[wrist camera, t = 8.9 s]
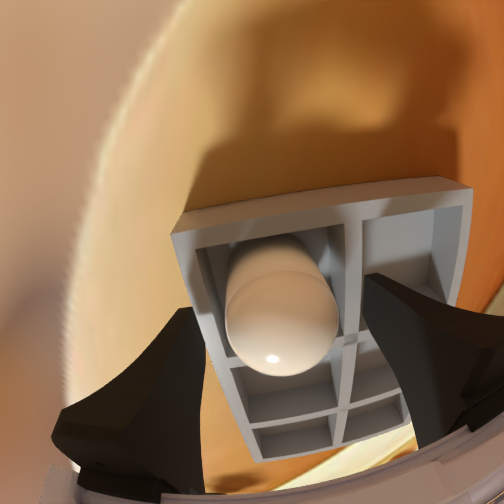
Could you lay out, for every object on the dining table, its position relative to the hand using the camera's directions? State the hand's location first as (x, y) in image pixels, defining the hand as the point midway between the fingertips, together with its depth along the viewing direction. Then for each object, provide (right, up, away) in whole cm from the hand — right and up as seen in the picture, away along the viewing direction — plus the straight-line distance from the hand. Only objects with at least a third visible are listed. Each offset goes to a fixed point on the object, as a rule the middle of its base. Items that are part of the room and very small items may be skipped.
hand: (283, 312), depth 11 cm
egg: (0, +1, +3) cm, 3 cm away
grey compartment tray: (+4, -4, +6) cm, 9 cm away
